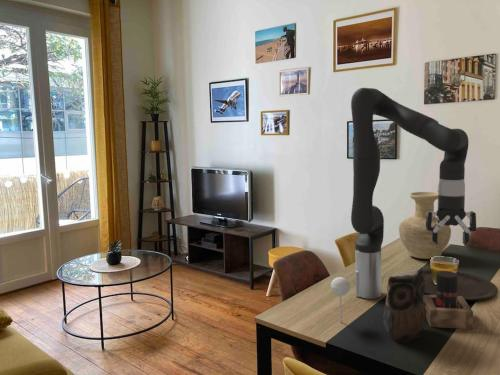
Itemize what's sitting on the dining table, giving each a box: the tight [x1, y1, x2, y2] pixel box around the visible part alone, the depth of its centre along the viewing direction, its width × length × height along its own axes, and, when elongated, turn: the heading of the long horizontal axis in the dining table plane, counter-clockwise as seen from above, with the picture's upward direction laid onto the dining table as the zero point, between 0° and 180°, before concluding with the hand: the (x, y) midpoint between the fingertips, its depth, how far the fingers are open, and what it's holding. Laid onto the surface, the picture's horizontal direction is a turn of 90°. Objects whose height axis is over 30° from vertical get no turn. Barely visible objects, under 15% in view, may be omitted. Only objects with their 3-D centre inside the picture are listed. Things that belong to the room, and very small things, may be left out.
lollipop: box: [330, 276, 351, 323], centre depth 133 cm, size 6×6×15 cm
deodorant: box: [435, 270, 458, 308], centre depth 132 cm, size 6×6×15 cm
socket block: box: [423, 294, 474, 330], centre depth 132 cm, size 12×12×6 cm
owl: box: [382, 267, 427, 343], centre depth 123 cm, size 13×13×20 cm
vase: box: [398, 191, 452, 260], centre depth 193 cm, size 22×22×30 cm
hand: (450, 243), depth 132 cm, fingers open, 8 cm apart
